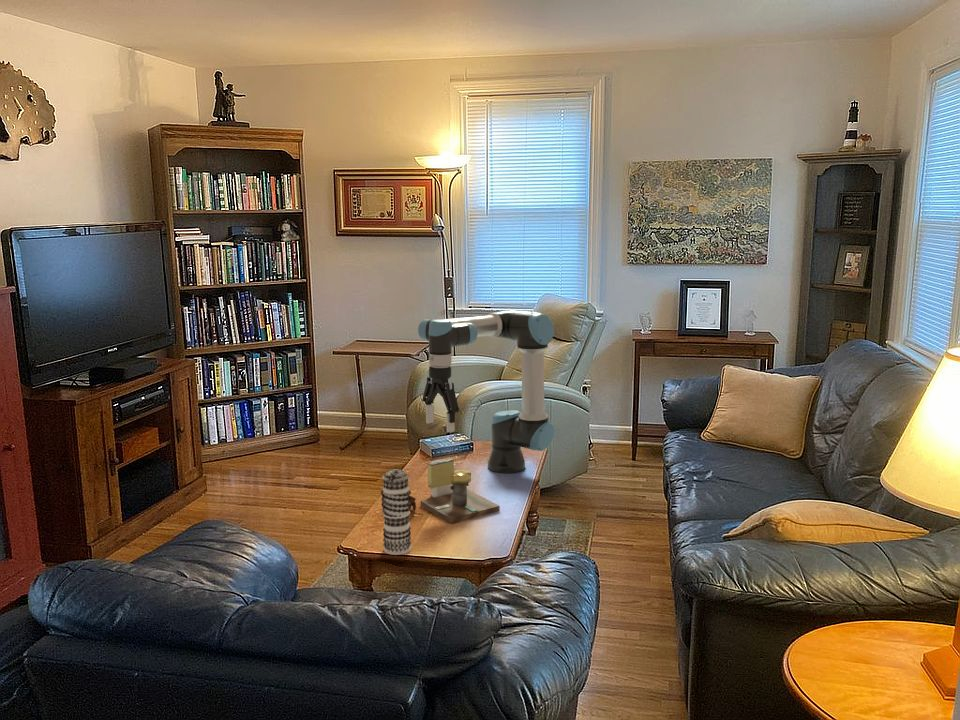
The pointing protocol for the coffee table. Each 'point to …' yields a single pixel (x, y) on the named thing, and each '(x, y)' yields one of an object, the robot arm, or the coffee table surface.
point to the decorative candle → (396, 512)
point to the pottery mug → (412, 503)
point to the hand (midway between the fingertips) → (440, 427)
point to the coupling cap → (446, 474)
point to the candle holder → (441, 488)
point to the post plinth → (459, 505)
